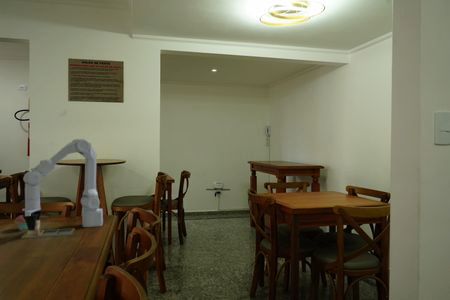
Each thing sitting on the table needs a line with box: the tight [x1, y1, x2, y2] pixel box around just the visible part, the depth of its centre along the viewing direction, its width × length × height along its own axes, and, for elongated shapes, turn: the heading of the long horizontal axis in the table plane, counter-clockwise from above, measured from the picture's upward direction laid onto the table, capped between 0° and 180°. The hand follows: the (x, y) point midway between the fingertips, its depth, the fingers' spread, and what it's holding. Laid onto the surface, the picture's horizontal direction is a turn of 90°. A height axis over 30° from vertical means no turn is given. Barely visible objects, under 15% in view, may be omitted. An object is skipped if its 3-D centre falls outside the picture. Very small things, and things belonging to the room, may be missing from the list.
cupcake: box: [14, 214, 28, 231], centre depth 156 cm, size 9×8×12 cm
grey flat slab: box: [20, 227, 76, 239], centre depth 146 cm, size 20×9×1 cm, turn 106°
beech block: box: [26, 219, 41, 236], centre depth 144 cm, size 4×4×6 cm
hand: (33, 228), depth 144 cm, fingers open, 4 cm apart
